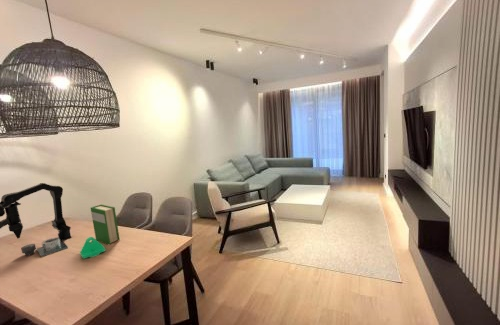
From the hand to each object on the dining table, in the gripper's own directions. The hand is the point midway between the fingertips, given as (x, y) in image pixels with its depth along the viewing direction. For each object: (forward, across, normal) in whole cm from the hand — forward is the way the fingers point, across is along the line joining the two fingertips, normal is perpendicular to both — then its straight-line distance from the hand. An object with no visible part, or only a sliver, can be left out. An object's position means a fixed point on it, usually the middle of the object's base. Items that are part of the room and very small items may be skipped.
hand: (18, 236), depth 158 cm
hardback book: (+13, +27, +43) cm, 52 cm away
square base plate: (+12, +9, +14) cm, 21 cm away
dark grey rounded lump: (+12, +5, +3) cm, 14 cm away
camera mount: (+13, +42, +30) cm, 54 cm away
